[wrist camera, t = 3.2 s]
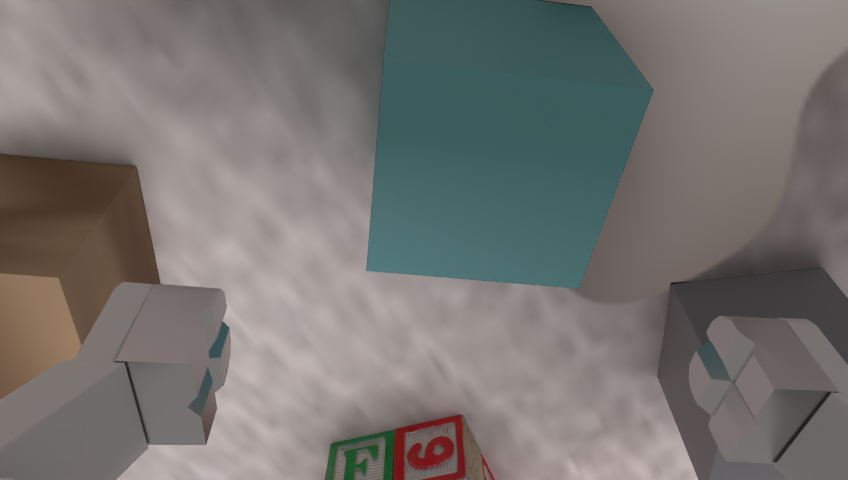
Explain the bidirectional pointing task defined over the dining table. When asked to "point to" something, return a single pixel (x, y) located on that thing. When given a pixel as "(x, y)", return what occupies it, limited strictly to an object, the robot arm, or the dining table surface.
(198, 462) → the dining table surface
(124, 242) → the walnut cube
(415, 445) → the stack of blocks
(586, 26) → the teal cube
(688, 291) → the charcoal cube
